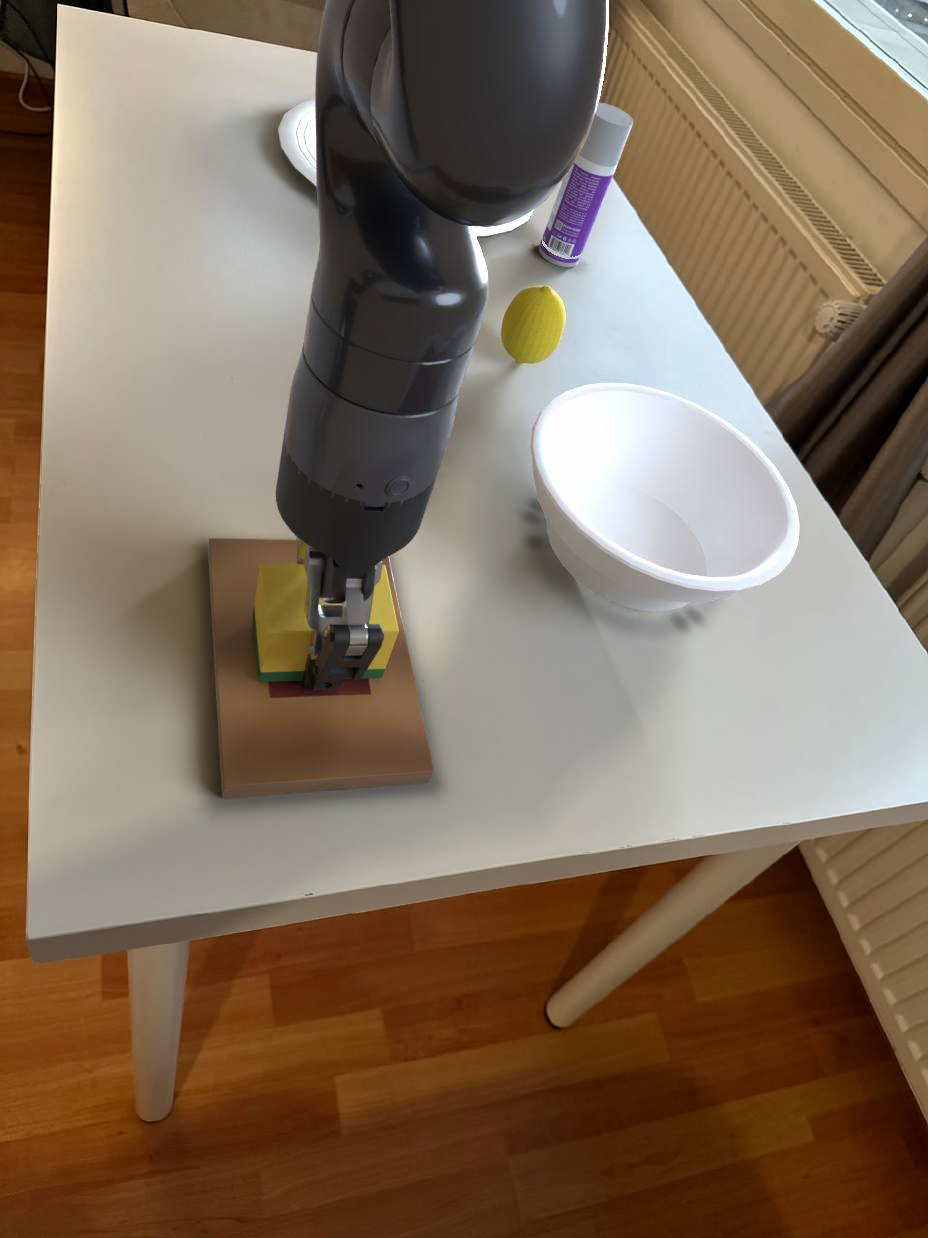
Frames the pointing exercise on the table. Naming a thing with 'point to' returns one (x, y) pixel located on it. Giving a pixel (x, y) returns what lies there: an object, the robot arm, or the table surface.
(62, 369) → the table surface
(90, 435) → the table surface
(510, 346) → the lemon
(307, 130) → the plate
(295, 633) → the sponge
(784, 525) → the bowl
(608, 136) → the container
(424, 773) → the board
